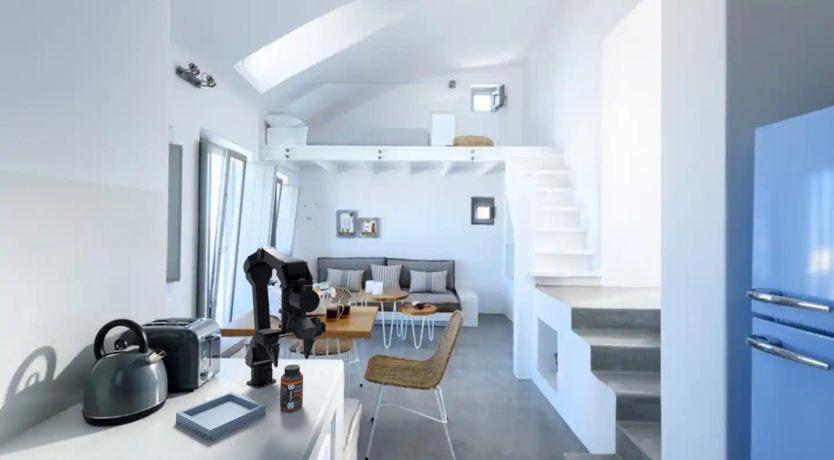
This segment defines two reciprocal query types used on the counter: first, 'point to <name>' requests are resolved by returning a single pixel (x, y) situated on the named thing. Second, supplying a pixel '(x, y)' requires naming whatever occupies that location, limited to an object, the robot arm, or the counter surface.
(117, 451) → the counter surface
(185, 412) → the tray
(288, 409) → the supplement bottle
